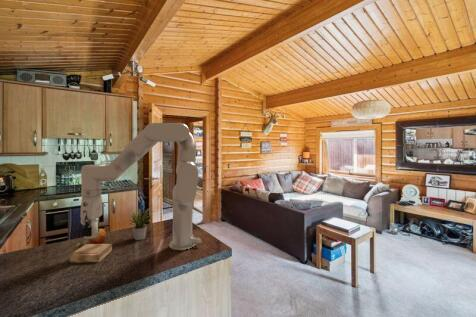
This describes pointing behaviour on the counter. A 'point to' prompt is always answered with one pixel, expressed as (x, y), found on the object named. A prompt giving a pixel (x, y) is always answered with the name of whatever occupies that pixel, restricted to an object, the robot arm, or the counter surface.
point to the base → (91, 253)
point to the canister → (93, 229)
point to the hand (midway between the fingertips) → (91, 233)
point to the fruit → (99, 237)
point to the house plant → (140, 225)
